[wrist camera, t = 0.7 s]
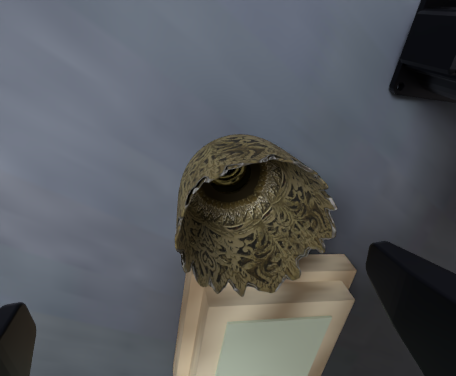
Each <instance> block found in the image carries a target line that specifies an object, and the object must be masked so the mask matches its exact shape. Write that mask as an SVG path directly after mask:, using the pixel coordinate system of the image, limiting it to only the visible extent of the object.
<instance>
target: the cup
mask: <svg viewBox="0 0 456 376" xmlns="http://www.w3.org/2000/svg"><path fill="white" fill-rule="evenodd" d="M230 169H235V170H234V171H233V172H232V173H230V174H227V175H225V174H226V173H227V172H228V170H230ZM326 189H328V185H327V184H326V183H325V182H324V181H323V180H322V179H321V178H320V176H319V175H318V173H317V172H315V171H314V170H312V169H311V168H309V167H307V166H306V165H304V164H303V163H302V162H300V161H299V160H297V159H296V158H295V157H293V156H292V155H290V154H289V153H287V152H286V151H284V150H283V149H281V148H280V147H278V146H276V145H275V144H273V143H271V142H269V141H267V140H265V139H262V138H259V137H256V136H251V135H243V134H237V135H229V136H225V137H221V138H219V139H216V140H214V141H212V142H210V143H208V144H207V145H205V146H204V147H203V148H201V149H200V150H199V151H198V152H197V153H196V154H195V155H194V156H193V157H192V159H191V160H190V162H189V163H188V165H187V167H186V169H185V171H184V173H183V176H182V179H181V183H180V188H179V194H178V206H177V224H176V234H175V248H176V251H177V252H179V253H180V254H181V262H182V267H183V270H184V272H185V273H188V272H190V271H191V268H192V271H193V274H194V277H195V280H196V281H197V283H198V284H199V285H200V286H201V287H207V286H210V287H212V288H213V290H214V292H215V293H216V294H219V293H220V292H221V291H222V290H223V289H224V288H226V286H227V284H228V283H229V284H230V285H231V286H232V288H233V290H234V291H236V292H237V293H238V294H239V295H240V296H241V297H243V296H244V294H245V291H246V287H253V288H255V289H256V290H257V291H262V292H268V293H274V292H276V291H277V290H278V289H279V287H280V286H281V284H282V283H284V281H285V280H286V279H288V280H291V281H293V280H296V279H299V278H300V276H301V270H300V268H299V261H298V260H300V259H301V258H303V257H307V256H308V253H309V251H310V249H314V250H315V249H316V250H318V252H320V253H324V252H325V244H324V241H323V239H325V240H327V239H331V238H332V239H333V238H334V237H336V226H335V223H334V220H333V218H332V216H331V214H330V211H331V210H337V206H336V204H335V202H334V201H333V199H332V197H330V196H329V195H328V194H327V193H326V192H325V191H324V190H326Z"/></svg>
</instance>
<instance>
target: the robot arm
mask: <svg viewBox="0 0 456 376" xmlns="http://www.w3.org/2000/svg"><path fill="white" fill-rule="evenodd" d="M399 83H401V84H400V87H399V88H398V89H397V86H398V84H399ZM390 91H391V92H392V93H395V94H398V95H404V96H412V97H419V98H426V99H433V100H441V101H448V102H455V103H456V0H421V3H420V5H419V8H418V11H417V13H416V16H415V19H414V21H413V24H412V27H411V30H410V32H409V35H408V38H407V40H406V43H405V46H404V48H403V51H402V54H401V56H400V59H399V62H398V65H397V67H396V70H395V73H394V75H393V78H392V81H391V83H390ZM366 272H367V274H368V276H369V278H370V280H371V282H372V284H373V286H374V288H375V290H376V293H377V295H378V297H379V299H380V301H381V303H382V305H383V307H384V309H385V311H386V313H387V315H388V317H389V318H390V320H391V322H392V324H393V326H394V327H395V329H396V331H397V332H398V334H399V335H400V337H401V339H402V340H403V342H404V343H405V345H406V347H407V348H408V350H409V351H410V353H411V354H412V356H413V358H414V359H415V361H416V362H417V364H418V366H419V367H420V369H421V370H422V372H423V374H424V375H425V376H456V274H455V273H453V272H450V271H448V270H446V269H444V268H442V267H440V266H438V265H436V264H434V263H432V262H429V261H427V260H425V259H423V258H421V257H419V256H417V255H415V254H413V253H411V252H408V251H406V250H404V249H402V248H400V247H398V246H396V245H394V244H392V243H390V242H387V241H381V242H375V243H372V244H371V245H370V247H369V252H368V257H367V261H366ZM35 338H36V325H35V323H34V321H33V319H32V317H31V314H30V312H29V310H28V308H27V306H26V305H25V304H24V303H22V302H18V303H12V304H7V305H4V306H2V307H1V308H0V376H29V375H30V369H31V362H32V356H33V350H34V344H35Z"/></svg>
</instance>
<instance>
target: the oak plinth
mask: <svg viewBox="0 0 456 376" xmlns="http://www.w3.org/2000/svg"><path fill="white" fill-rule="evenodd" d="M298 261H299V268H300V270H301V276H300V278H299V279H296V280H293V281H291V280H288V279H286V280H285V281H284V283H282V284H281V286H280V287H279V289H278V290H277V291H276V292H274V293H268V292H262V291H257V290H256V289H255V288H253V287H246V291H245V294H244V296H243V297H241V296H240V295H239V294H238V293H237V292H236V291H234V290H233V288H232V286H231V285H230V284H229V283H228V284H227V286H226V288H224V289H223V290H222V291H221V292H220V293H219V294H216V293H215V292H214V290H213V288H212V287H210V286H207V287H201V286H200V285H199V284H198V283H197V281H196V280H195V277H194V274H193V271H192V268H191V271H190V272H188V273H186V277H185V284H184V291H183V299H182V306H181V313H180V320H179V327H178V335H177V342H176V349H175V356H174V363H173V376H321V374H322V372H323V370H324V367H325V365H326V363H327V361H328V359H329V356H330V354H331V352H332V350H333V347H334V345H335V343H336V341H337V339H338V336H339V334H340V332H341V330H342V328H343V325H344V323H345V321H346V319H347V317H348V314H349V312H350V310H351V308H352V306H353V303H354V301H355V299H354V298H353V296H352V295H351V293H350V292H349V291H348V290H349V288H350V285H351V283H352V281H353V278H354V276H355V274H356V271H357V270H356V269H355V268H354V266H353V265H352V264H351V263H350V261H349V260H348V259H347V257H346V256H345V255H344V254H308V256H307V257H303V258H301V259H300V260H298Z"/></svg>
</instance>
